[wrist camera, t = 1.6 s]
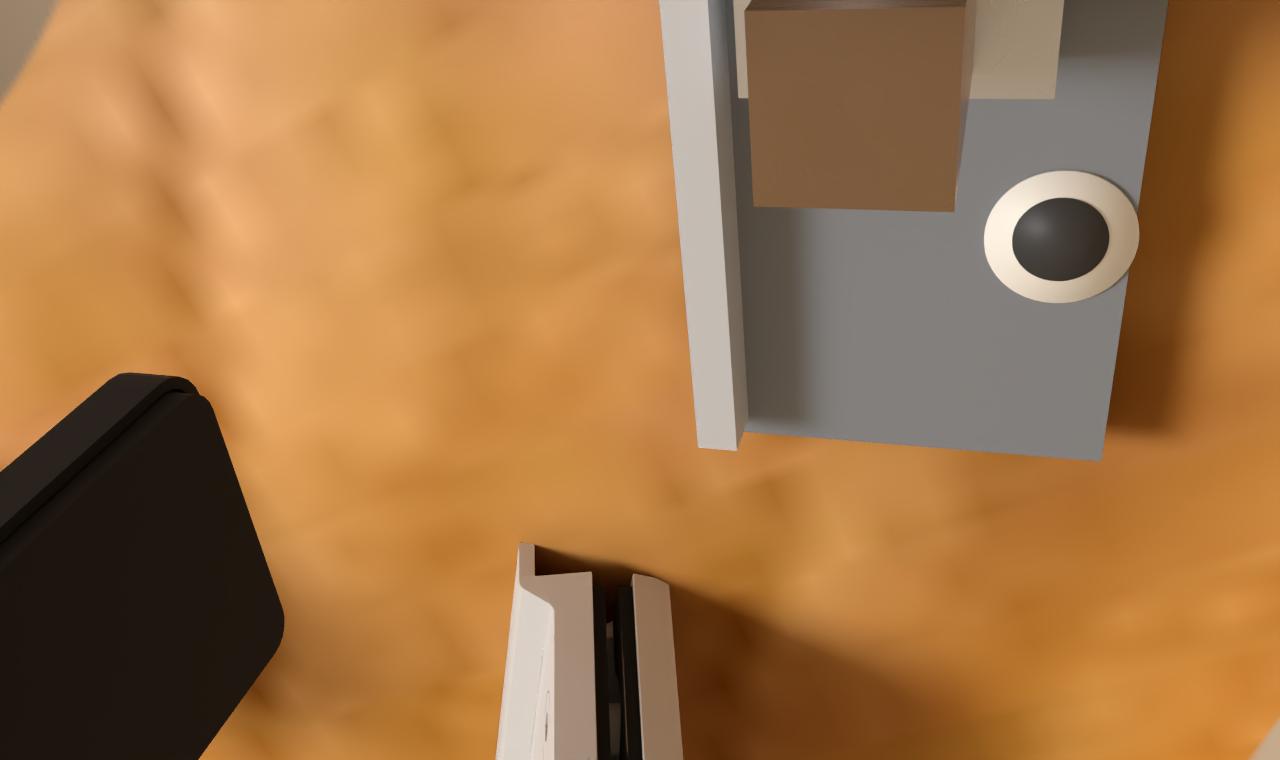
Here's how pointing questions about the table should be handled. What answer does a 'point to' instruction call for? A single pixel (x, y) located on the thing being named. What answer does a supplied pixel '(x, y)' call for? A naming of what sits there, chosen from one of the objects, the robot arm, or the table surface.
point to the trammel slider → (880, 93)
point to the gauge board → (919, 260)
